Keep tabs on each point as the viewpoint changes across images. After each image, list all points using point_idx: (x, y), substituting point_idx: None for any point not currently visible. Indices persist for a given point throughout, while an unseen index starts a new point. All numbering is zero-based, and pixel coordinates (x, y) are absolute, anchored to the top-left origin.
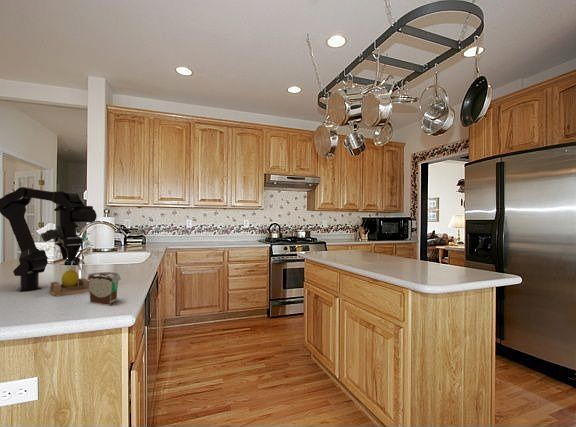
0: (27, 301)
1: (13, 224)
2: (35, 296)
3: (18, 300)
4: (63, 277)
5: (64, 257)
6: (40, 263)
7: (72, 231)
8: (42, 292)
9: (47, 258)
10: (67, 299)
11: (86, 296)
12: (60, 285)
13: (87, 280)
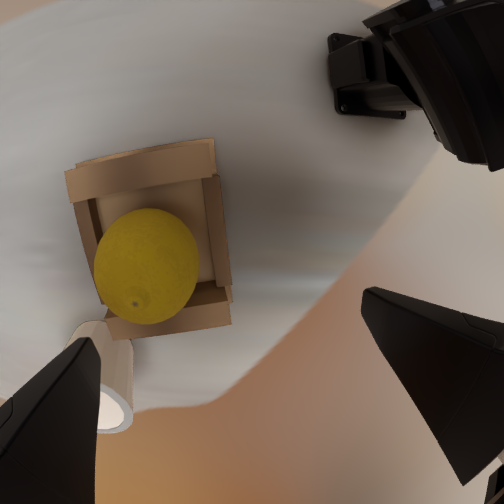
0: (66, 60)
1: None
2: (152, 77)
3: (117, 21)
4: (114, 228)
5: (374, 311)
6: (437, 97)
7: None
8: (238, 107)
9: (488, 164)
10: (7, 218)
11: (26, 287)
12: (71, 199)
13: (134, 336)
